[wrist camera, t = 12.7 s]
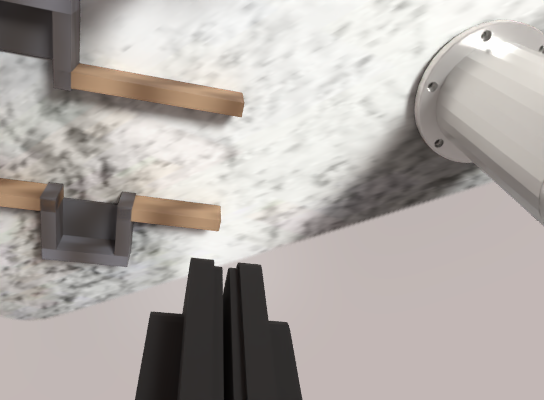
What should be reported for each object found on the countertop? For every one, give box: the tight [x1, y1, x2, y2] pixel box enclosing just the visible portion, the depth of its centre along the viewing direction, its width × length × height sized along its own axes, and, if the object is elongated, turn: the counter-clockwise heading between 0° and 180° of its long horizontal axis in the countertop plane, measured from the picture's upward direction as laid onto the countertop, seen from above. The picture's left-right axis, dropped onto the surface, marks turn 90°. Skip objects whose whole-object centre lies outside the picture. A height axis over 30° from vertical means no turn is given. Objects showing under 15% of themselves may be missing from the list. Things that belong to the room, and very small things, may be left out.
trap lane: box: [0, 0, 244, 267], centre depth 35 cm, size 28×23×6 cm
